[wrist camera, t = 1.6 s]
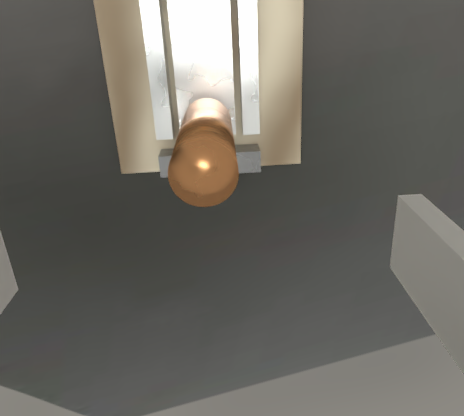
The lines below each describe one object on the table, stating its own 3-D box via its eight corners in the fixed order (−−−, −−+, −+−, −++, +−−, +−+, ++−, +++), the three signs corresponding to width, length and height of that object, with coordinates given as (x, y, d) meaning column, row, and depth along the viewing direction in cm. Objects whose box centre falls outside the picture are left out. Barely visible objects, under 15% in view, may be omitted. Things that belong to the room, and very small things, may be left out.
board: (123, 170, 34) (121, 173, 34) (88, -47, 28) (85, -49, 27) (298, 160, 34) (300, 163, 34) (302, -58, 28) (304, -60, 28)
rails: (163, 168, 34) (160, 177, 32) (143, 1, 29) (138, 0, 27) (258, 163, 34) (260, 171, 32) (254, -5, 29) (257, -7, 27)
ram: (155, 143, 32) (125, 211, 21) (133, -41, 27) (76, -79, 16) (262, 138, 32) (286, 202, 21) (258, -47, 28) (287, -90, 16)
